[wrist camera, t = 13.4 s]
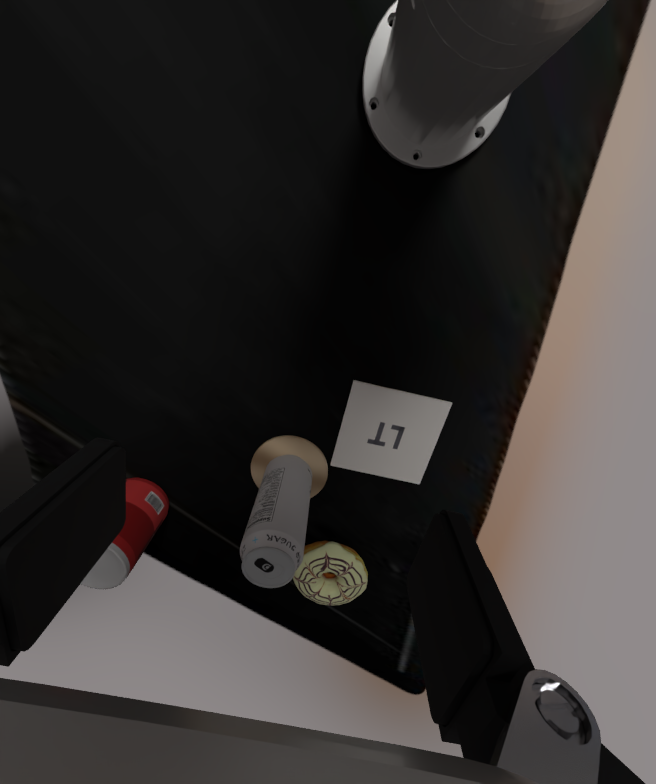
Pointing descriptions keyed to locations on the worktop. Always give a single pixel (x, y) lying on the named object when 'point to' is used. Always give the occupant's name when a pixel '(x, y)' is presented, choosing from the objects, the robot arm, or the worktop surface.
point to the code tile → (389, 432)
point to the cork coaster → (291, 447)
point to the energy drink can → (277, 523)
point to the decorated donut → (330, 586)
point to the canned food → (130, 534)
